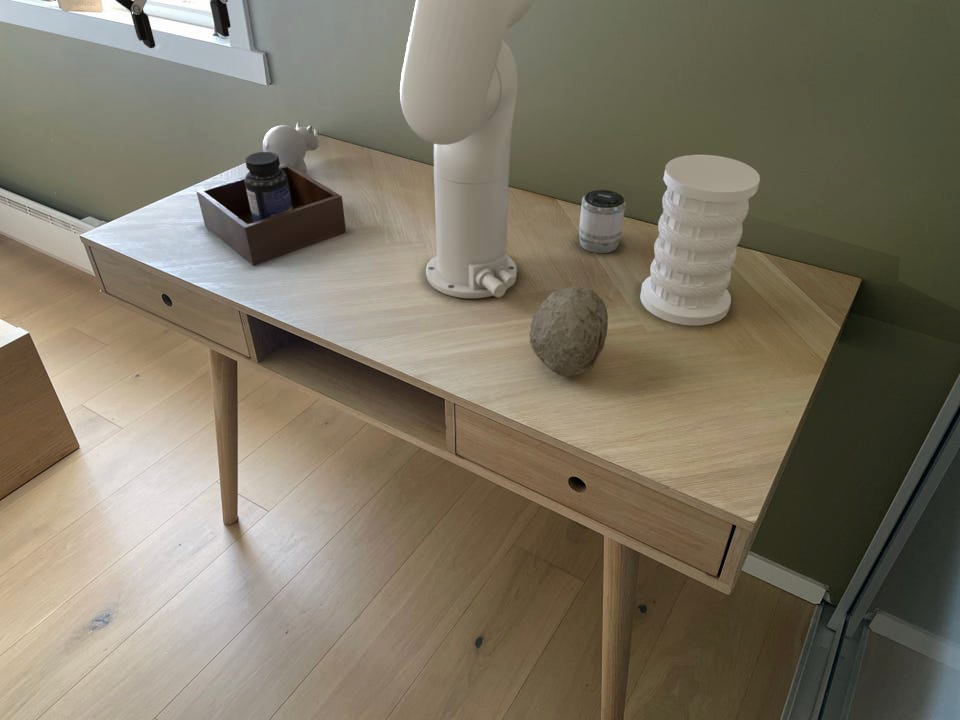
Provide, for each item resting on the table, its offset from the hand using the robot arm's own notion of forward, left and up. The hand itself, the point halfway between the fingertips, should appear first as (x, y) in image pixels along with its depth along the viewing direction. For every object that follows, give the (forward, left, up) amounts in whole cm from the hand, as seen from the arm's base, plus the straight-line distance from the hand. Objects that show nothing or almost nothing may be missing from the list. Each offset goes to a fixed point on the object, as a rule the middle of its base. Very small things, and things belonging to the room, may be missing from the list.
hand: (187, 40), depth 94 cm
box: (-4, -6, -27) cm, 28 cm away
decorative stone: (-54, -24, -27) cm, 65 cm away
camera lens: (-33, -46, -27) cm, 63 cm away
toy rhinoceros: (+16, -17, -27) cm, 36 cm away
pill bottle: (-4, -6, -27) cm, 28 cm away
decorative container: (-51, -46, -27) cm, 74 cm away
